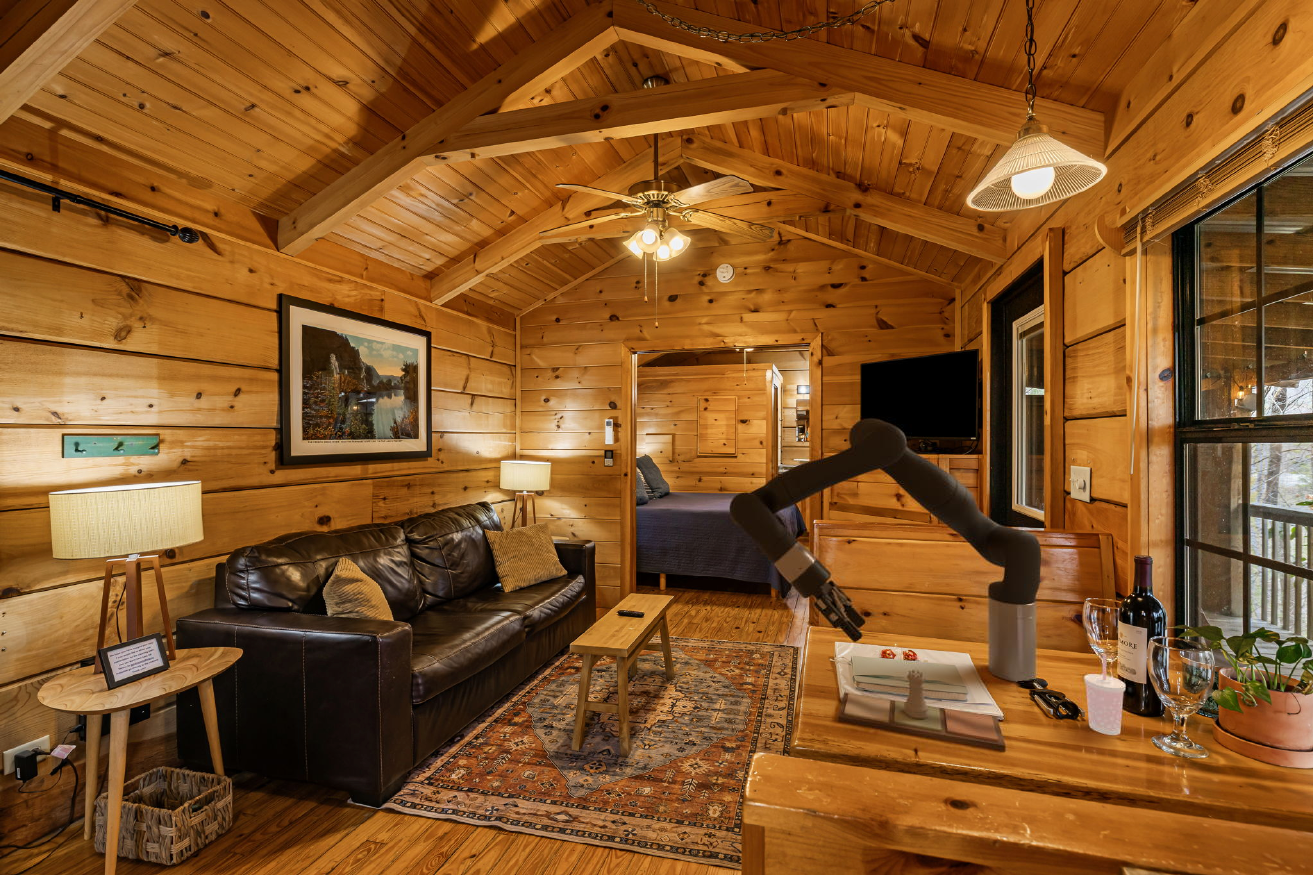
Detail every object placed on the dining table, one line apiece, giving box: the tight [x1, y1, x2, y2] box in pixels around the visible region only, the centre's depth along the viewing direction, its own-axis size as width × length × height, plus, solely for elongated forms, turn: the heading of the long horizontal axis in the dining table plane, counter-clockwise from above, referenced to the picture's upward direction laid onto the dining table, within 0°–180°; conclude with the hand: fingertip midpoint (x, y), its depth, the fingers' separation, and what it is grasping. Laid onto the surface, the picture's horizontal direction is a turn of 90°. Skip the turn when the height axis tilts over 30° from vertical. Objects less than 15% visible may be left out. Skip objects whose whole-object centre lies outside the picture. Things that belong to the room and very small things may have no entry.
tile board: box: [837, 691, 1006, 752], centre depth 112 cm, size 11×28×1 cm, turn 67°
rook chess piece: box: [904, 669, 929, 719], centre depth 112 cm, size 4×4×8 cm
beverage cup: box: [1083, 653, 1126, 736], centre depth 109 cm, size 6×6×14 cm
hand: (860, 631), depth 116 cm, fingers open, 8 cm apart
